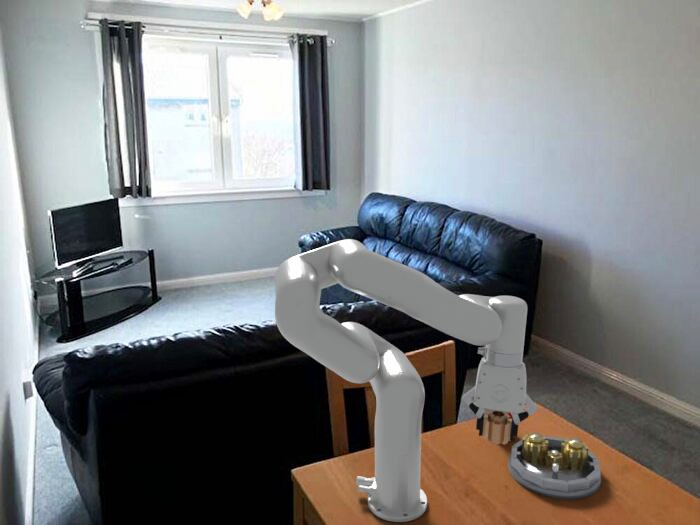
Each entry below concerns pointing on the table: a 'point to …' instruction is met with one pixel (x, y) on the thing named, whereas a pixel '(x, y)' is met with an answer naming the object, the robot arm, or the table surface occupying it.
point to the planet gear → (497, 427)
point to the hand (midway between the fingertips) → (496, 434)
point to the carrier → (555, 466)
